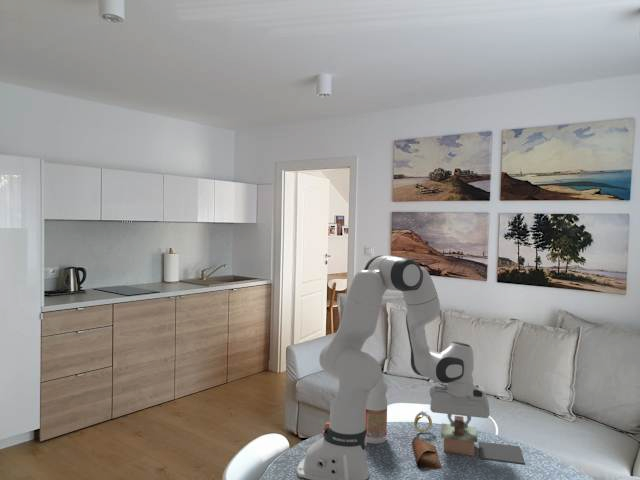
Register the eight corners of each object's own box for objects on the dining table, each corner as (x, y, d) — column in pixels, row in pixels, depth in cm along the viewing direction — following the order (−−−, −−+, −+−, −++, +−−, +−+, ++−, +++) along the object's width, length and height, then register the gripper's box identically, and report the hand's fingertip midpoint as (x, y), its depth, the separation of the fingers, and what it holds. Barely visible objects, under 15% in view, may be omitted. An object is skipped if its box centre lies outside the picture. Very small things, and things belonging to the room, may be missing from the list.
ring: (415, 434, 186) (416, 413, 186) (412, 431, 190) (412, 410, 190) (433, 433, 188) (433, 412, 188) (429, 430, 191) (430, 409, 191)
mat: (480, 458, 167) (480, 457, 167) (478, 442, 181) (478, 441, 181) (525, 464, 164) (525, 463, 164) (519, 447, 177) (519, 446, 177)
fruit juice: (378, 446, 175) (380, 367, 175) (355, 440, 180) (357, 363, 180) (390, 438, 183) (392, 362, 183) (368, 432, 188) (370, 358, 188)
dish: (443, 451, 172) (444, 437, 172) (444, 440, 182) (444, 426, 182) (473, 455, 170) (474, 440, 170) (472, 443, 179) (473, 430, 179)
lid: (441, 437, 171) (441, 424, 171) (441, 425, 183) (442, 412, 183) (477, 442, 168) (477, 428, 168) (475, 429, 180) (476, 416, 180)
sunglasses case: (444, 469, 159) (433, 450, 159) (424, 479, 159) (414, 460, 159) (435, 446, 177) (426, 429, 177) (418, 455, 177) (408, 438, 177)
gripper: (429, 387, 175) (428, 426, 175) (490, 393, 170) (489, 433, 170) (430, 382, 181) (429, 420, 181) (489, 388, 176) (488, 427, 176)
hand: (459, 427), depth 176 cm, fingers closed on lid, 3 cm apart
